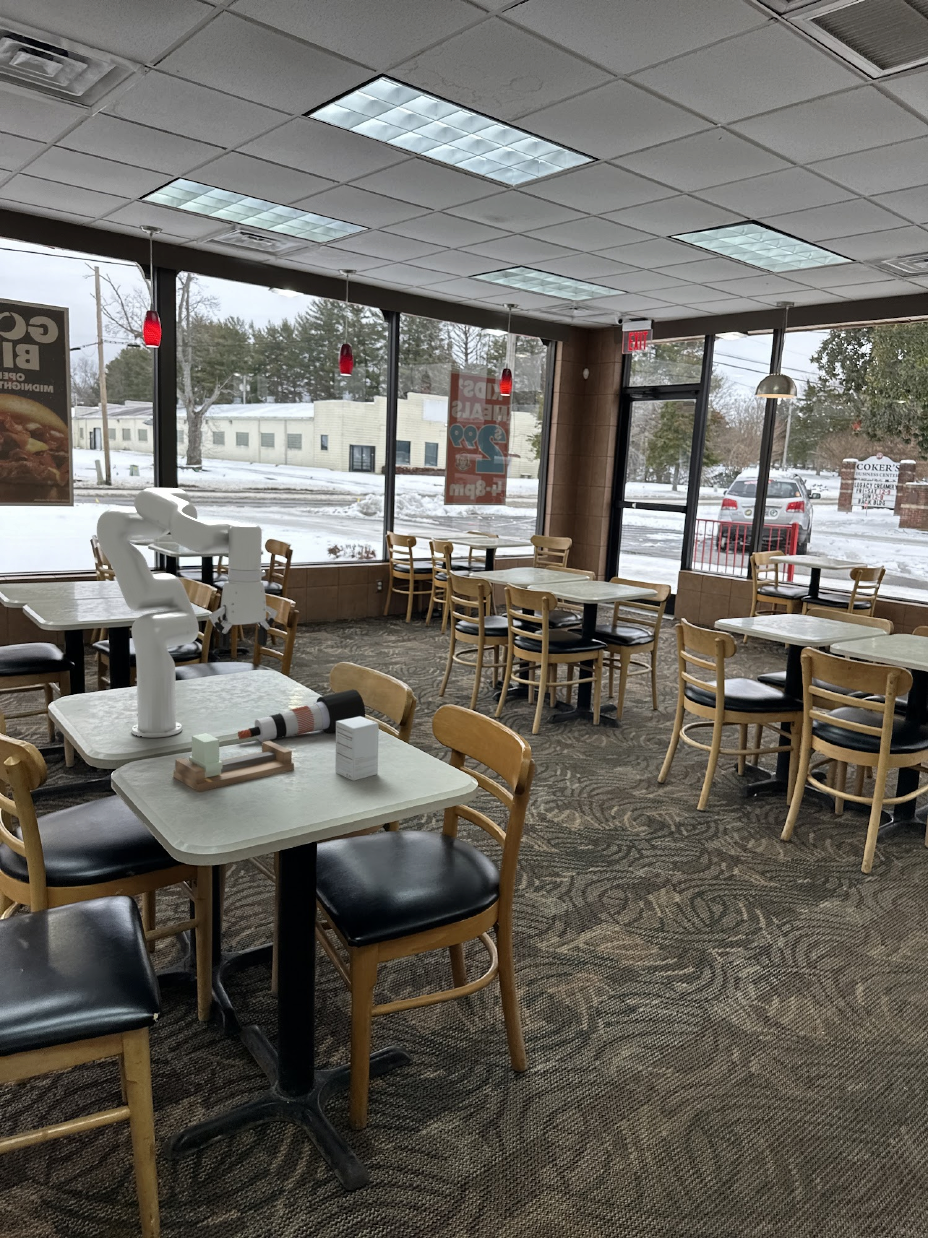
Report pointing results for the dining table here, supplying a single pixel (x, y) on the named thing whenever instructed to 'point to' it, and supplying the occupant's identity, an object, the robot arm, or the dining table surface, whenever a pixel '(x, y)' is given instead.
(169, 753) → the dining table surface
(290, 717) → the white black stepped cylinder
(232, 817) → the dining table surface
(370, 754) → the supplement box
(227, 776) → the rail board
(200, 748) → the block
